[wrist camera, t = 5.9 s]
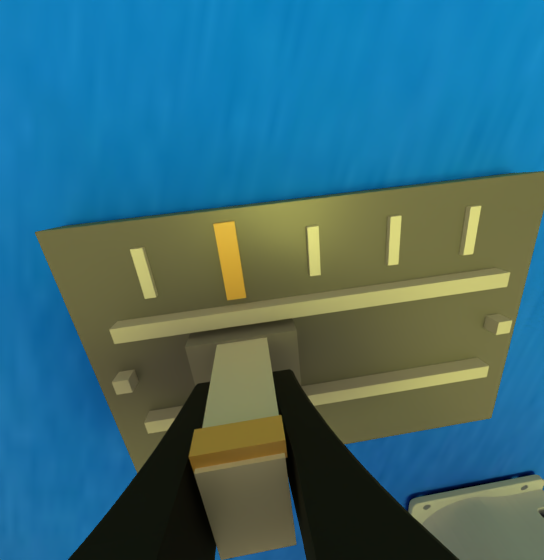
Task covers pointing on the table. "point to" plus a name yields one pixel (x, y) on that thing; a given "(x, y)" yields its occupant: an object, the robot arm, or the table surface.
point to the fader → (244, 435)
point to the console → (312, 299)
